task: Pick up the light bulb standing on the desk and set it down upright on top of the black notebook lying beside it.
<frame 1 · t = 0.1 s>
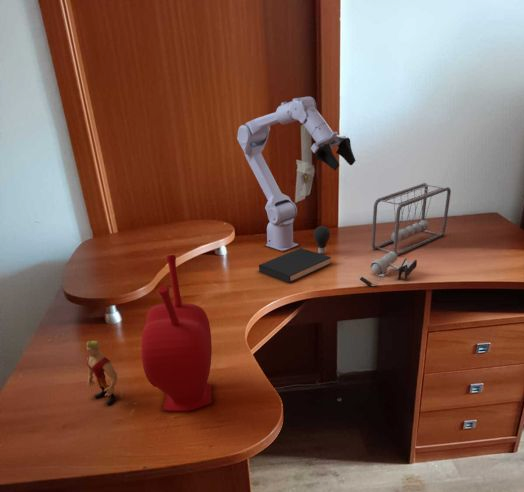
hand: (345, 165, 153), 32 cm above the table, tool tilted 50°, fingers open, 7 cm apart
clip-on lamp: (385, 278, 158), on the table
light bulb: (321, 254, 179), on the table
notebook: (295, 268, 169), on the table
action figure: (106, 399, 113), on the table
newton's cradle: (408, 243, 183), on the table
novelty television: (188, 397, 112), on the table
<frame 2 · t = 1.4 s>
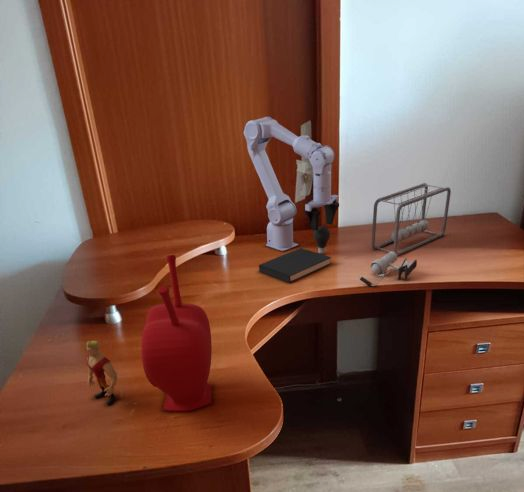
hand: (322, 227, 173), 10 cm above the table, tool pointing down, fingers open, 7 cm apart
nothing on the table moved.
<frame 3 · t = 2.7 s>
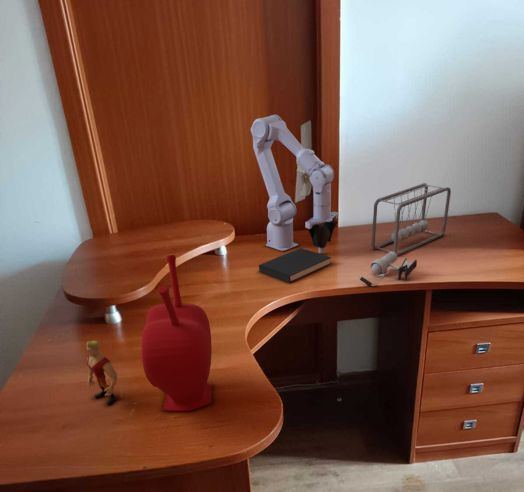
hand: (321, 243, 176), 4 cm above the table, tool pointing down, fingers closed on light bulb, 5 cm apart
light bulb: (321, 254, 179), on the table, touching gripper
everything else where it was.
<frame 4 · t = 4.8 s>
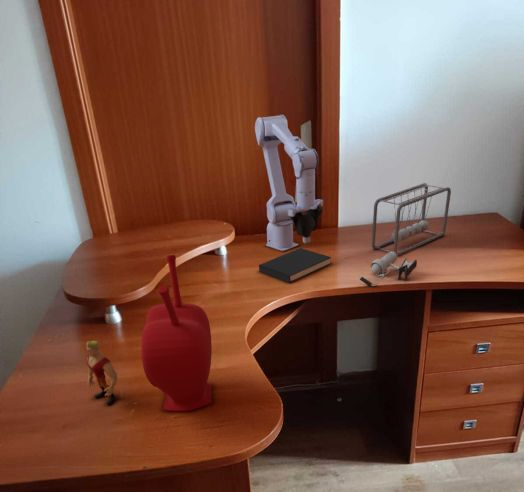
hand: (306, 232, 167), 10 cm above the table, tool pointing down, fingers closed on light bulb, 5 cm apart
light bulb: (306, 244, 170), point 6 cm above the table, touching gripper
everything else where it was.
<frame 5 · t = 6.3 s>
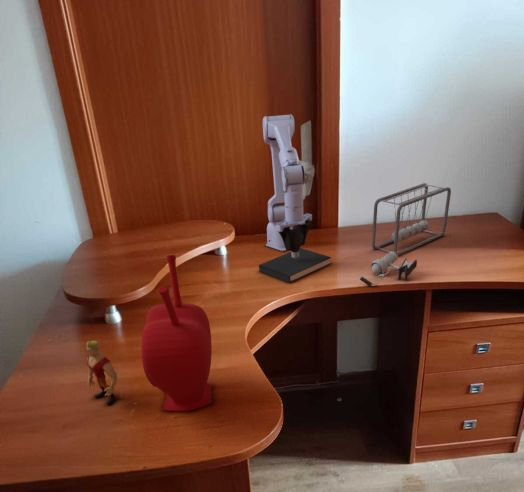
hand: (294, 247, 165), 7 cm above the table, tool pointing down, fingers closed on light bulb, 5 cm apart
light bulb: (295, 259, 167), point 3 cm above the table, touching gripper
everything else where it was.
when the fingers open (6 cm above the table, at t = 7.1 s): light bulb stays where it is, resting on notebook.
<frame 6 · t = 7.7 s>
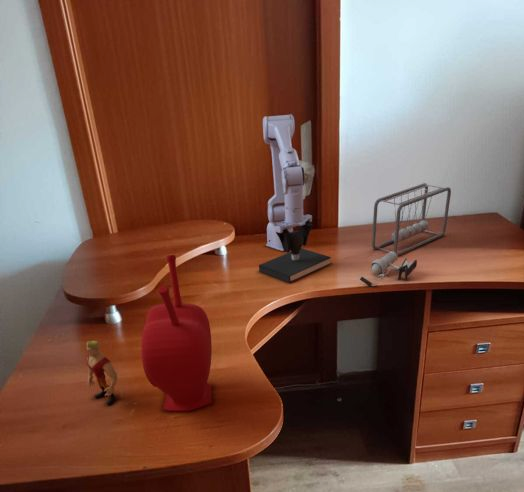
hand: (294, 248, 165), 7 cm above the table, tool pointing down, fingers open, 7 cm apart
light bulb: (295, 261, 168), point 2 cm above the table, touching notebook
everything else where it was.
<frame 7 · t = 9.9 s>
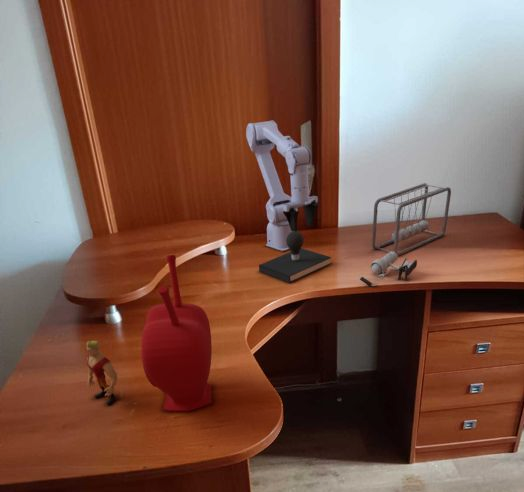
hand: (301, 228, 171), 10 cm above the table, tool pointing down, fingers open, 7 cm apart
nothing on the table moved.
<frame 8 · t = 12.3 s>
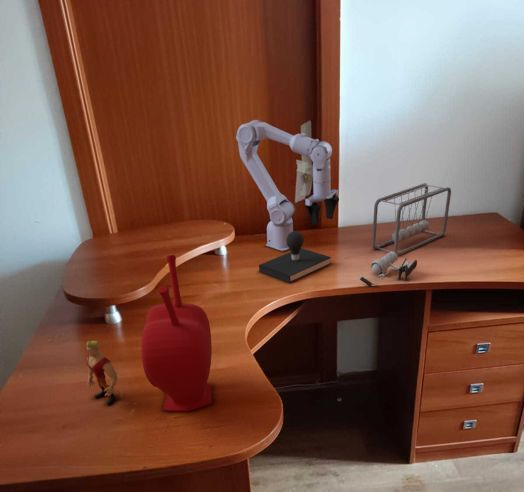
hand: (322, 221, 176), 10 cm above the table, tool pointing down, fingers open, 7 cm apart
nothing on the table moved.
at the end: light bulb inside the target area on the notebook (0.1 cm from its centre), point 2.3 cm above the notebook's base; light bulb tilted 0°; the gripper is holding nothing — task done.
